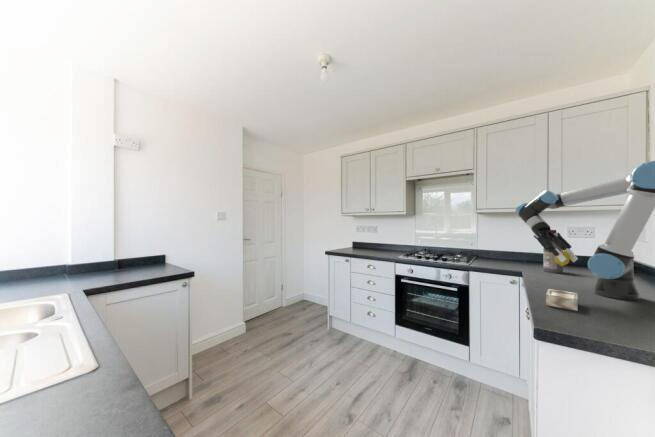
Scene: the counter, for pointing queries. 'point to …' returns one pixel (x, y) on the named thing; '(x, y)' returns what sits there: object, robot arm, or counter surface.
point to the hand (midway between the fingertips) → (569, 260)
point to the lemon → (565, 257)
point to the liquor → (551, 260)
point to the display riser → (562, 299)
